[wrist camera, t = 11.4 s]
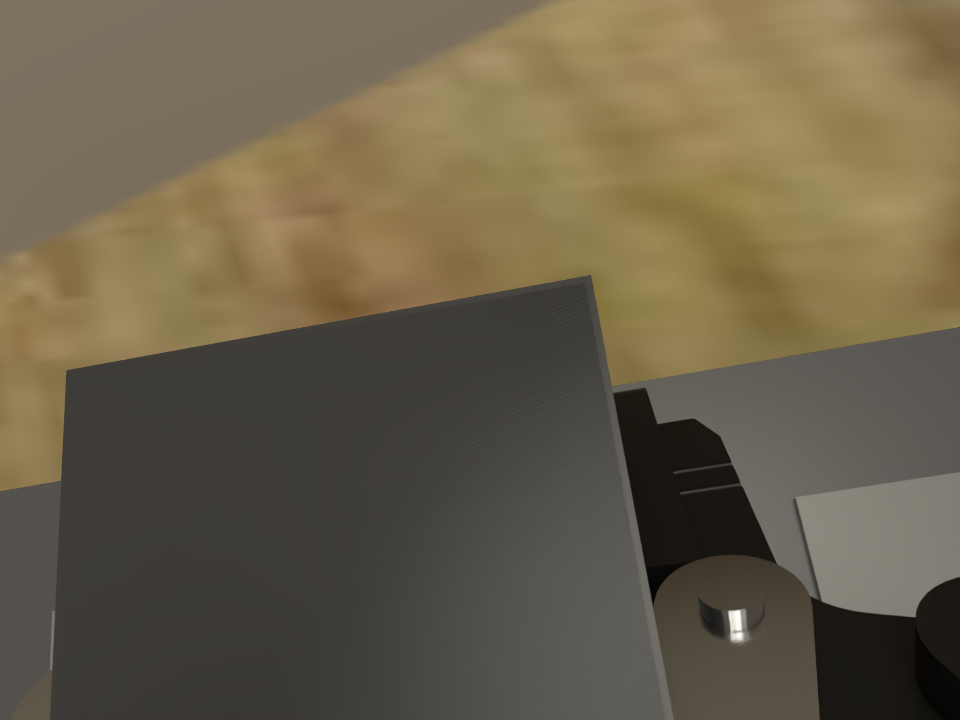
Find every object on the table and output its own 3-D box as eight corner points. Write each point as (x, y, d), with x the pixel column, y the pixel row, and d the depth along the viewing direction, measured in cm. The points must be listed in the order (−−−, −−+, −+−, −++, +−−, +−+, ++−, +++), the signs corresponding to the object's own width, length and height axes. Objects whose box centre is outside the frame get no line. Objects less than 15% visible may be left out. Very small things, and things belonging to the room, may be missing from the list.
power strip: (1059, 352, 19) (1147, 286, 16) (1236, 813, 16) (1393, 852, 13) (-113, 546, 22) (-243, 525, 19) (-160, 963, 19) (-325, 1025, 16)
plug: (614, 511, 16) (591, 274, 6) (658, 760, 14) (713, 929, 5) (392, 544, 16) (66, 370, 7) (413, 790, 15) (37, 993, 5)
